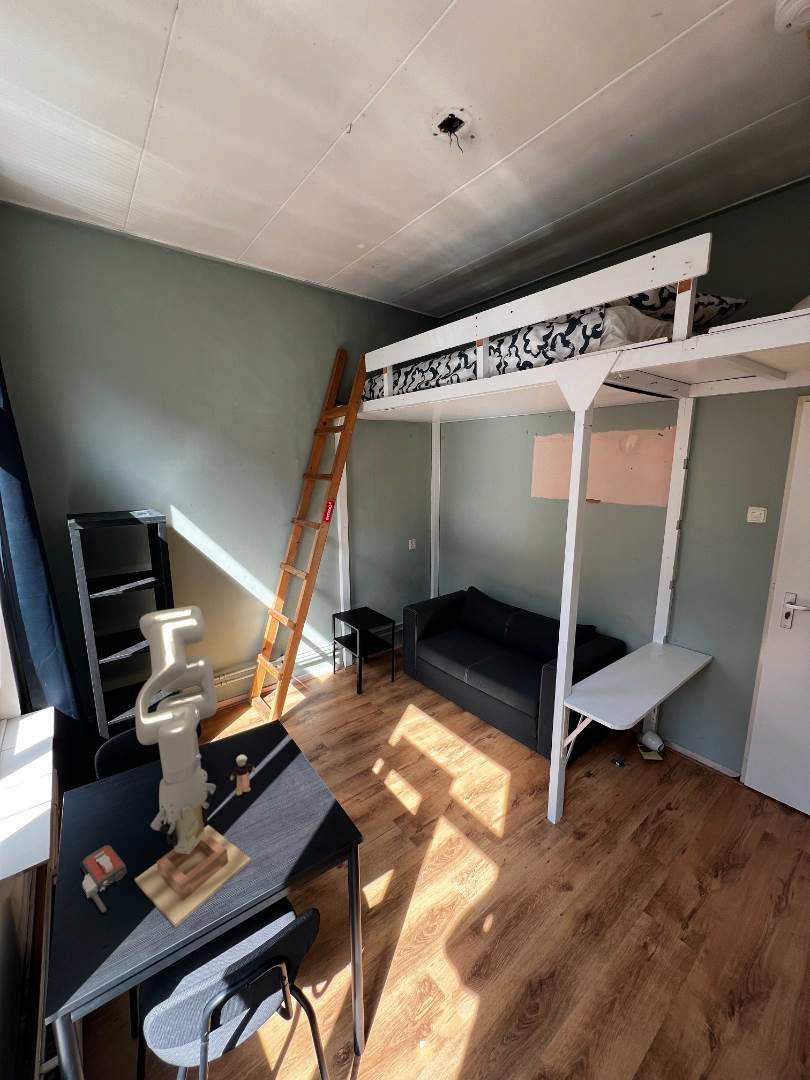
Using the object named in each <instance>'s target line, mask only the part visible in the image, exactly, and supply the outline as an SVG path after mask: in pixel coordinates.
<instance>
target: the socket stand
mask: <svg viewBox="0 0 810 1080" xmlns="http://www.w3.org/2000/svg"><path fill="white" fill-rule="evenodd" d="M204 833H205V835H204V837H203V838H202V839H201V840H200V842H199V843H198V844H197V845H196V847H195V848H194V849H193V850H192V851H191V853H190V854H185V853H179V852H175V848H173V849H172V850H170V851H168V852H167V853H166V854H165V855H163V856H162V857H161V858H160V859H158V860H157V861H156V863H155V864H153V865H152V866H150V867H149V868H148V869H146V870H145V871H144V872H142V873H141V874H140V875H139V876H137V877H135V878H134V882H136V883H135V884H136V885H137V886H138V887H139V888H140V889H141V890H142V892H143V893H144V894H145V896H146V897H148V898H149V899H150V901H151V902H152V903H153V904H154V906H156V908H157V909H159V911H160V912H161V913H162V914H163V916H164V917H166V918H167V920H168V921H169V922H170V923H171V924H172V926H174V928H175V929H177V928H178V927H179V926H180V925H181V924H182V923H183V922H185V921H186V920H187V919H188V918H189V917H190V916H191V915H193V914H194V912H196V911H197V910H198V909H199V908H200V907H202V906H203V905H204V904H205V903H206V902H208V900H209V899H211V898H212V897H213V896H214V895H215V894H216V893H217V892H219V891H220V890H221V889H222V888H223V887H225V885H226V884H228V883H229V882H230V881H231V880H233V878H235V876H237V875H238V874H239V873H240V872H241V871H242V870H244V869H245V868H246V867H247V866H248V865H249V864H251V862H252V859H251V857H249V856H248V855H247V854H246V853H244V852H243V851H241V849H239V848H238V847H237V846H236V845H234V844H233V843H232V842H230V841H229V840H228V839H227V838H226V837H224V836H223V835H222V834H220V833H219V832H218V831H217V830H215V828H213V827H212V826H211V825H209V824H208V825H206V826H204Z"/></svg>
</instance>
